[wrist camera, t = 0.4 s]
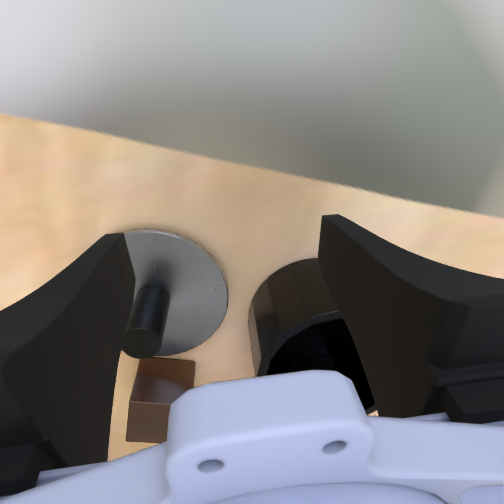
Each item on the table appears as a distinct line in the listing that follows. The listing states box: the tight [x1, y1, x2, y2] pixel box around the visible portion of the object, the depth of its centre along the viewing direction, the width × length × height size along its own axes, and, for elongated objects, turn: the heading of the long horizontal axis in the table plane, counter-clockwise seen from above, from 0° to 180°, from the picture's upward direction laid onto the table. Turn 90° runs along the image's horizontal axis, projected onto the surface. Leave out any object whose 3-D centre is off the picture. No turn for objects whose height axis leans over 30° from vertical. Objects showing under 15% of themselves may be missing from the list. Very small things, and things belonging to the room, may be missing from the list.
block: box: [126, 357, 195, 443], centre depth 28 cm, size 4×4×4 cm
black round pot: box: [248, 258, 377, 415], centre depth 25 cm, size 10×10×6 cm
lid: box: [121, 229, 228, 359], centre depth 23 cm, size 11×11×6 cm
